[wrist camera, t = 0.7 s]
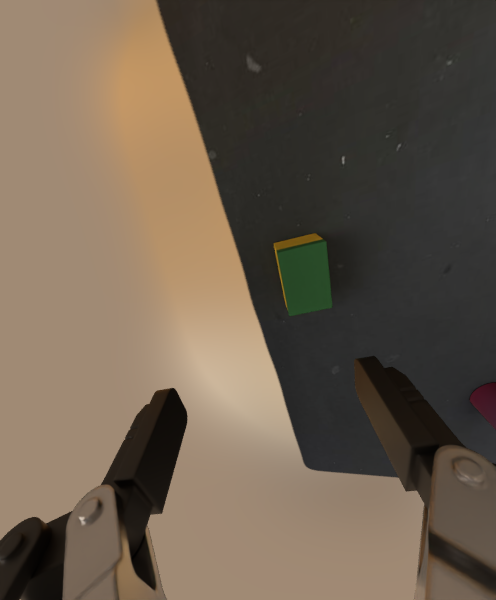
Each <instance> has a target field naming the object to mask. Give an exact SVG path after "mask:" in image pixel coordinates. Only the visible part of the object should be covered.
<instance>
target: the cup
mask: <svg viewBox="0 0 496 600" xmlns="http://www.w3.org/2000/svg"><path fill="white" fill-rule="evenodd" d="M470 402H471V403H472V404H473V405H474V406H475V408H476V409H477V410H478V411H479V412H480V413H481V414H482V415H483V416H484V417H485V419H486V420H487V421H488V422H489V423H490V424H491V425H492V426H493V427H494V428H495V429H496V382H495V383H488V384H485V385H483V386H481V387H479V388H477V389H476V390H475V391H474V392H473V393H472V394H471V396H470Z"/></svg>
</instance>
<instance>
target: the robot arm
mask: <svg viewBox="0 0 496 600" xmlns="http://www.w3.org/2000/svg"><path fill="white" fill-rule="evenodd" d="M354 366H355V387H356V392H357V395H358V398H359V400H360V402H361V404H362V406H363V408H364V410H365V412H366V414H367V416H368V418H369V420H370V422H371V424H372V426H373V428H374V430H375V432H376V434H377V436H378V437H379V439H380V441H381V443H382V445H383V447H384V449H385V451H386V453H387V455H388V457H389V459H390V461H391V463H392V465H393V467H394V469H395V471H396V473H397V475H398V477H399V479H400V481H401V483H402V485H403V487H404V488H405V491H415V490H417V491H418V493H419V495H420V497H421V498H422V500H423V502H424V511H423V521H422V531H421V542H420V552H419V562H418V572H417V582H416V589H415V595H414V600H496V464H493V463H491V462H490V461H489V460H487V459H486V458H485V457H483V456H482V455H480V454H479V453H477V452H475V451H473V450H471V449H468V448H466V447H465V446H464V445H463V444H462V443H461V442H460V441H459V440H458V439H457V437H456V436H455V435H454V434H453V432H452V431H451V430H450V429H449V428H448V426H447V425H446V424H445V423H444V421H443V420H442V419H441V418H440V417H439V415H438V414H437V413H436V412H435V411H434V409H433V408H432V407H431V406H430V404H429V403H428V402H427V401H426V400H424V398H423V396H422V395H421V393H420V392H419V391H418V390H416V388H415V386H414V385H413V384H412V383H411V381H410V380H409V379H408V378H407V376H406V375H404V374H403V373H401V372H400V371H398V370H396V369H395V368H393V367H388V368H384V367H383V366H382V364H381V363H380V362H379V360H378V359H377V358H376V357H375V356H371V357H365V358H358V359H355V361H354ZM186 425H187V411H186V409H185V407H184V405H183V403H182V401H181V399H180V397H179V395H178V393H177V391H176V390H175V389H174V388H170V389H164V390H158V391H156V392H155V393H154V395H153V397H152V400H151V402H150V404H147V405H145V406H144V408H143V409H142V410H141V411H140V412H139V413H138V414H137V416H136V418H135V420H134V422H133V423H132V426H131V427H130V428H131V429H130V430H129V431H128V433H127V435H126V437H125V440H124V441H123V443H122V445H121V447H120V449H119V451H118V453H117V455H116V457H115V459H114V461H113V463H112V465H111V467H110V469H109V471H108V473H107V475H106V477H105V478H104V480H103V482H102V484H101V485H100V486H98V487H96V488H94V489H93V490H91V491H90V492H88V493H87V494H86V495H85V496H84V497H83V498H82V499H81V500H80V501H79V503H78V504H77V505H76V506H75V508H74V510H73V511H71V512H69V513H67V514H65V515H63V516H61V517H59V518H57V519H55V520H53V521H51V522H49V523H44V522H43V521H41V520H40V519H39V518H37V517H32V518H28V519H26V520H24V521H22V522H21V523H19V524H18V525H17V526H15V527H14V528H13V529H11V530H10V531H9V532H8V533H7V534H6V535H5V536H4V537H3V538H2V540H0V600H19V599H21V600H167V599H166V597H165V594H164V591H163V588H162V584H161V580H160V575H159V571H158V566H157V562H156V558H155V553H154V549H153V545H152V540H151V536H150V532H149V528H148V526H147V524H148V520H149V517H150V515H151V514H161V513H162V512H163V508H164V504H165V501H166V497H167V494H168V490H169V486H170V483H171V479H172V475H173V472H174V468H175V465H176V461H177V457H178V454H179V450H180V447H181V443H182V439H183V436H184V432H185V429H186Z"/></svg>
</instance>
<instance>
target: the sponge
mask: <svg viewBox="0 0 496 600" xmlns="http://www.w3.org/2000/svg"><path fill="white" fill-rule="evenodd" d="M274 249H275V254H276V259H277V264H278V269H279V274H280V279H281V284H282V289H283V295H284V300H285V303H286V306H287V310H288V313H289V316H293V315H298V314H303V313H308V312H313V311H318V310H323V309H328V308H332V297H331V286H330V275H329V265H328V254H327V243H326V241H325V240H324V239H322V238H321V237H320V236H318V235H317V234H316V233H314V234H310V235H305V236H301V237H297V238H293V239H289V240H285V241H281V242H277V243H274Z"/></svg>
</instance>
